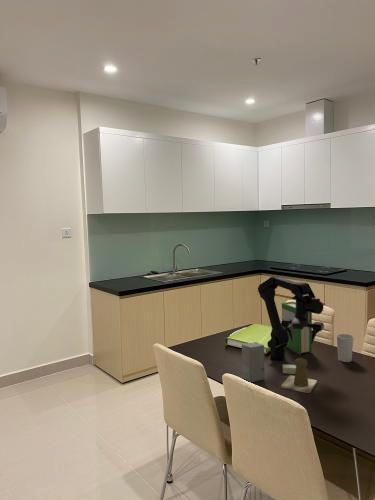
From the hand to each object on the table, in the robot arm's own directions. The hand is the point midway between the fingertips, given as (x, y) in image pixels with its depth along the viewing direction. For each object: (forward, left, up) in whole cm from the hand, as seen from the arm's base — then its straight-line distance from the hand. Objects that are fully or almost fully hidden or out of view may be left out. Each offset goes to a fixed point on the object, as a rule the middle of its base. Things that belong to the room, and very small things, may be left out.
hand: (302, 342), depth 187 cm
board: (+4, -18, -13) cm, 23 cm away
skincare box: (-16, -21, -13) cm, 30 cm away
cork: (+5, -19, -12) cm, 23 cm away
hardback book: (-11, +27, -13) cm, 32 cm away
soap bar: (-4, -6, -13) cm, 15 cm away
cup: (+15, +22, -13) cm, 30 cm away
